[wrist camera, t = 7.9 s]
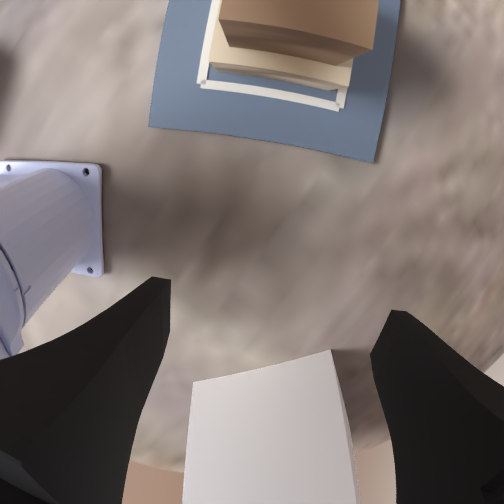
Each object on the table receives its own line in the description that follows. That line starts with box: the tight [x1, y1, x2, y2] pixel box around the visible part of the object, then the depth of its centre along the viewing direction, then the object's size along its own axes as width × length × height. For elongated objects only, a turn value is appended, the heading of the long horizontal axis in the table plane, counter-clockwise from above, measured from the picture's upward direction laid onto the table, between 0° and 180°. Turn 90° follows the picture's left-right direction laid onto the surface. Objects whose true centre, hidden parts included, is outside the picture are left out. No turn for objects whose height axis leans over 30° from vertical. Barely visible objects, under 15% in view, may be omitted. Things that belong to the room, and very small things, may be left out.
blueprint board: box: [148, 0, 400, 163], centre depth 14 cm, size 13×13×1 cm
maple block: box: [208, 0, 354, 91], centre depth 12 cm, size 6×6×4 cm
